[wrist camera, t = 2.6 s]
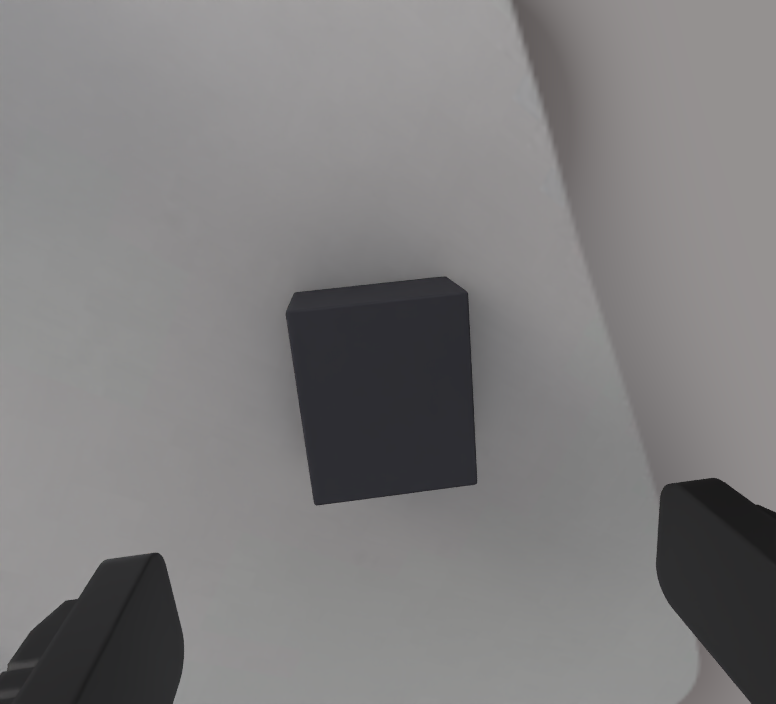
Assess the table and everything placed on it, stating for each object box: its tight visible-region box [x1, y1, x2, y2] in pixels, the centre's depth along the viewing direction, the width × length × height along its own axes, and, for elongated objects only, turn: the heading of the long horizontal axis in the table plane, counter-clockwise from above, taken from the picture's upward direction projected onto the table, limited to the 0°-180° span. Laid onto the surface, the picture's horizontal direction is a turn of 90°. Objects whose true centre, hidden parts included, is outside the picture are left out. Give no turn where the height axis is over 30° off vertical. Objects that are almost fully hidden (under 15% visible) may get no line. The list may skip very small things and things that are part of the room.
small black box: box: [286, 277, 477, 505], centre depth 17 cm, size 5×6×3 cm
